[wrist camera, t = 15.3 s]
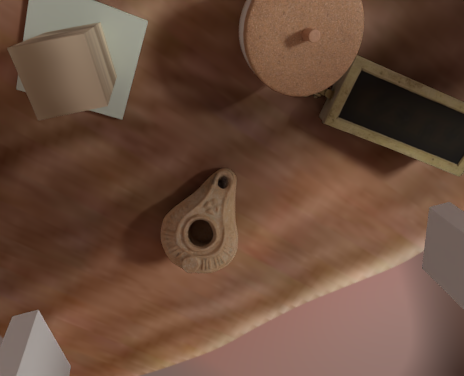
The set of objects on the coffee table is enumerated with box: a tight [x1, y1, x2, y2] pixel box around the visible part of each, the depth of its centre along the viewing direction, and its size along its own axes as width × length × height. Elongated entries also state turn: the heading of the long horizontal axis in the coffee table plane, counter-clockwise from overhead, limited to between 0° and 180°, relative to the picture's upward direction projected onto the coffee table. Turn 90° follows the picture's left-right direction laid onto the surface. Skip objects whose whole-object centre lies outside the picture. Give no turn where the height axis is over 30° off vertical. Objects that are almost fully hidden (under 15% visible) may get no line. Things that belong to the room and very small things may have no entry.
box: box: [303, 55, 464, 176], centre depth 44 cm, size 8×22×5 cm, turn 69°
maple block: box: [7, 22, 117, 121], centre depth 31 cm, size 5×5×11 cm
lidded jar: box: [239, 0, 364, 97], centre depth 35 cm, size 11×11×9 cm
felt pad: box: [16, 0, 148, 119], centre depth 36 cm, size 10×10×1 cm
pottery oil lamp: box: [161, 168, 238, 273], centre depth 43 cm, size 9×12×7 cm
